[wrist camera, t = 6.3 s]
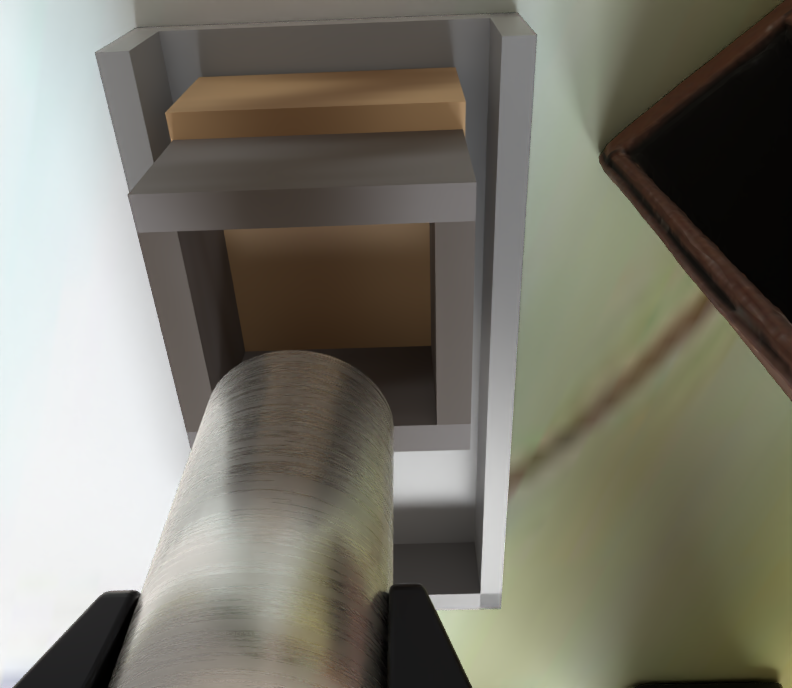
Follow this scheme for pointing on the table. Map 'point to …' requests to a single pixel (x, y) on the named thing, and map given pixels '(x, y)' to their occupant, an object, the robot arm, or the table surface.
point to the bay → (494, 237)
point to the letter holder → (725, 183)
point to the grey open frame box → (319, 237)
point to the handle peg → (274, 538)
